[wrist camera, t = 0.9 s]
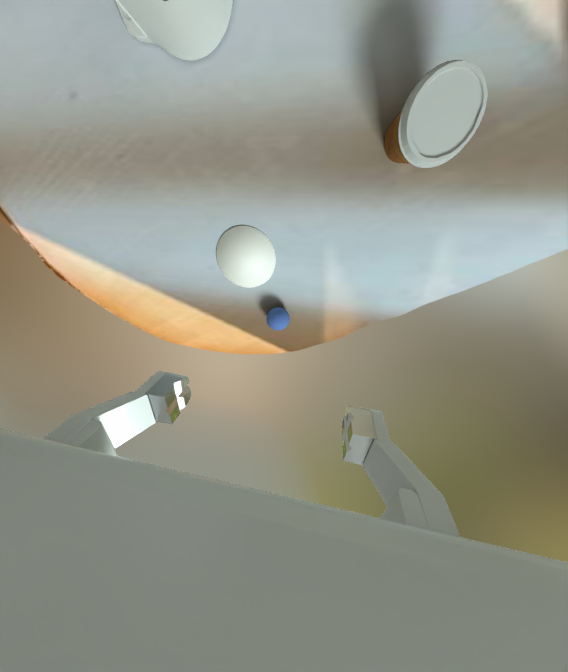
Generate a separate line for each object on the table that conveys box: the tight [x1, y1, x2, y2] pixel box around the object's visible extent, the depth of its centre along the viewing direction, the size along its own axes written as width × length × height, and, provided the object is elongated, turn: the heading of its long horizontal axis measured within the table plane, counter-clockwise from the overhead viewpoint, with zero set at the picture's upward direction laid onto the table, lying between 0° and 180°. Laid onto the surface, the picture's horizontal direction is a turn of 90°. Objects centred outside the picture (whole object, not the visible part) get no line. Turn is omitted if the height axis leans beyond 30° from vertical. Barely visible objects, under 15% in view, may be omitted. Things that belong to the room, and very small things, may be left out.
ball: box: [267, 307, 289, 330], centre depth 52 cm, size 6×6×6 cm
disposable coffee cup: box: [384, 60, 488, 168], centre depth 31 cm, size 10×10×12 cm
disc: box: [216, 226, 276, 287], centre depth 48 cm, size 13×13×1 cm
